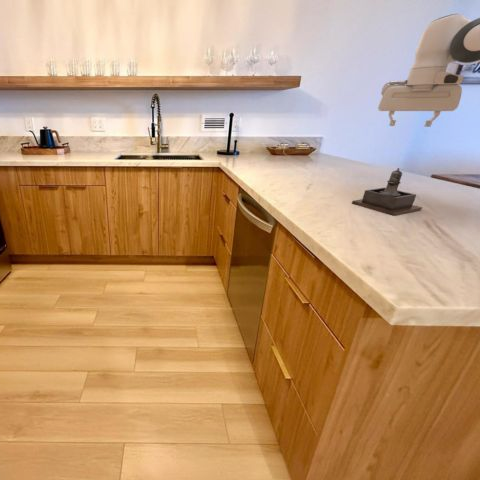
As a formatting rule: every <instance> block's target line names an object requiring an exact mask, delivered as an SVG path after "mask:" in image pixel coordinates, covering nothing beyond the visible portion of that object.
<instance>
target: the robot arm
mask: <svg viewBox="0 0 480 480" xmlns="http://www.w3.org/2000/svg"><path fill="white" fill-rule="evenodd" d="M478 63H480V17H478V18H476V19H474V20H472V19H469V18H467V17H466V16H464V14H462V13H453V14H448V15H444V16H441V17H439V18H437V19H434V20H433V21H431V22H430V23H429V24H428V25H427V26H426V27H425V28H424V30H423V32H422V35H421V37H420V39H419V41H418V44H417V48H416V51H415V55H414V62H413V64H412V65H411V68H410V69H409V73H408V76H407V78H406V79H403V80H390V81H389V82H386V83H385V84H384V85H382V88H381V92H380V93H381V99H380V100H379V103H378V107H377V110H378V111H379V112H388V117H389V124H388V127H389V126H390V127H394V126H395V125H396V122H397V119H394V118H393V115H395V113H396V112H433V113H432V115H433V116H432V117H431V118H430V119H429V120H425V123H424V125H423V127H431V126H432V123H433V122H434V121H435V120H436V119H437V118H438V117H439V116H440V114H441V113H442V112H454V111H455V110H457V109H458V107H459V105H460V102H461V99H462V94H463V87H462V86H461V85H460V84H462V82H463V80H464V76H463V75H460V74H456V73H453V72H448V71H447V70H448V67H449V65H451V64H455V65H461V66H472V65H476V64H478Z"/></svg>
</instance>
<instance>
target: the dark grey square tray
mask: <svg viewBox="0 0 480 480" xmlns="http://www.w3.org/2000/svg"><path fill="white" fill-rule="evenodd" d="M385 189H386V187H377V188H371V189H365V190H364V193H363V195H362V198H361V199H353V200H352V201H351V204H352V205H356V206H359V207H363V208H366V209H369V210H373V211H376V212H380V213H383V214H387V215H390V216H394V217H395V216H400V215H405V214H409V213H410V214H411V213H414V212H420V211H422V210H423V207H422V206H418V205H414V202H415V200H416V198H417V194H416V193H412V192H411V193H410V192H406V191H402V190H398V189H397V192H398V193H399V194H401V196H399V197H393V196H389V195H385V194H381V193H379V192H380V191H384V190H385Z"/></svg>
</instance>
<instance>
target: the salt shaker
mask: <svg viewBox="0 0 480 480" xmlns="http://www.w3.org/2000/svg"><path fill="white" fill-rule="evenodd" d="M402 176H403V172H402V171H401V170H400V167H398V168H397V169H396V170H393V171H392V172H391V174H390V177H389V179H388V180H386V182H387V184H386V187H385V188H386V189H385V190H384V191H380V192H379V193H381V194H385V195H389V196H393V197H399V196H401V194H399V193H398V192H397V190H398V188H399V186H400V184H401V179H402Z"/></svg>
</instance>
